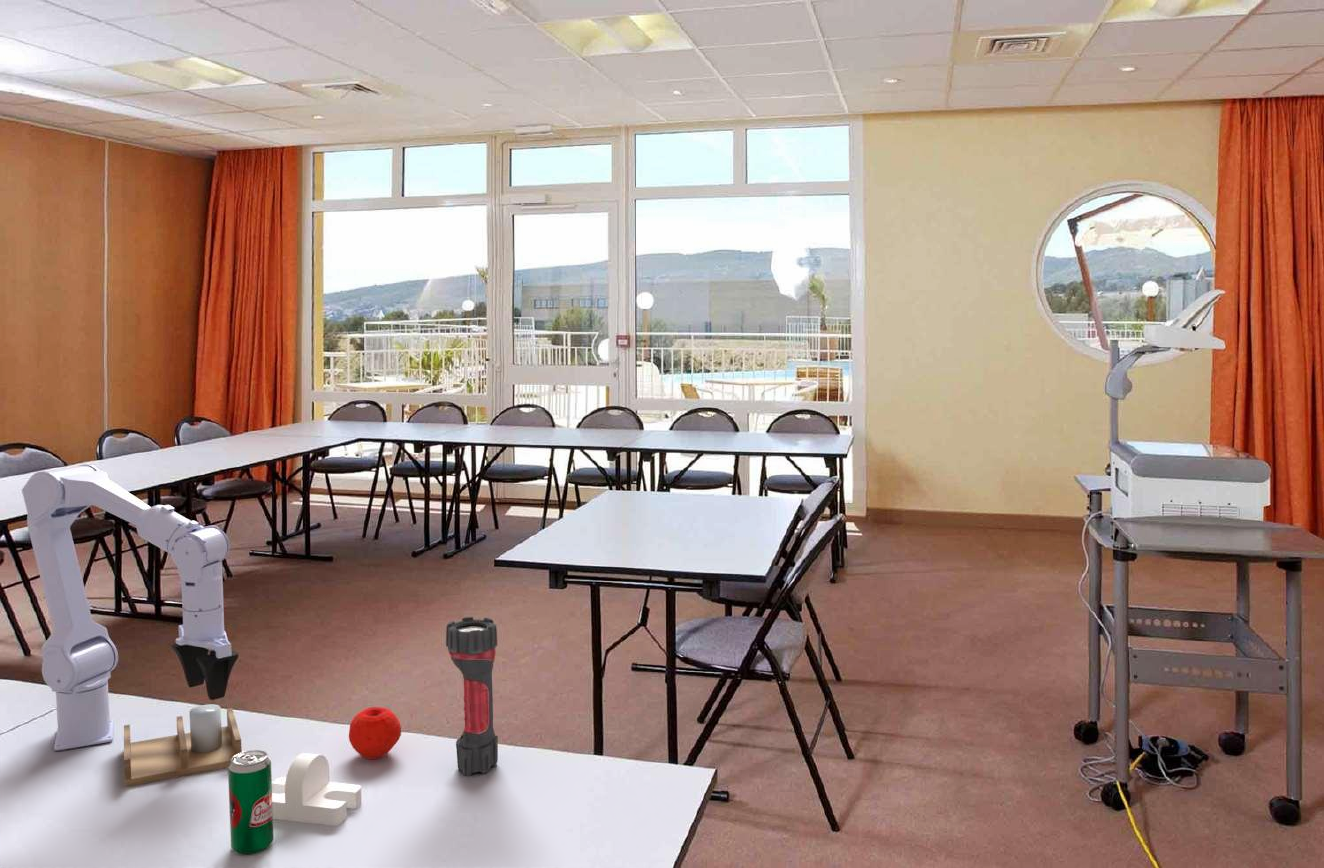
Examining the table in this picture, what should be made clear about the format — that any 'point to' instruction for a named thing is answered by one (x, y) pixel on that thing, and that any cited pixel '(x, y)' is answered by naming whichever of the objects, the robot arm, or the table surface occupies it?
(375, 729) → the apple
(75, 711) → the robot arm
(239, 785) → the soda can
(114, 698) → the table surface
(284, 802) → the slotted bracket
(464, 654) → the flashlight
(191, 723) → the cylinder
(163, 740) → the rack
